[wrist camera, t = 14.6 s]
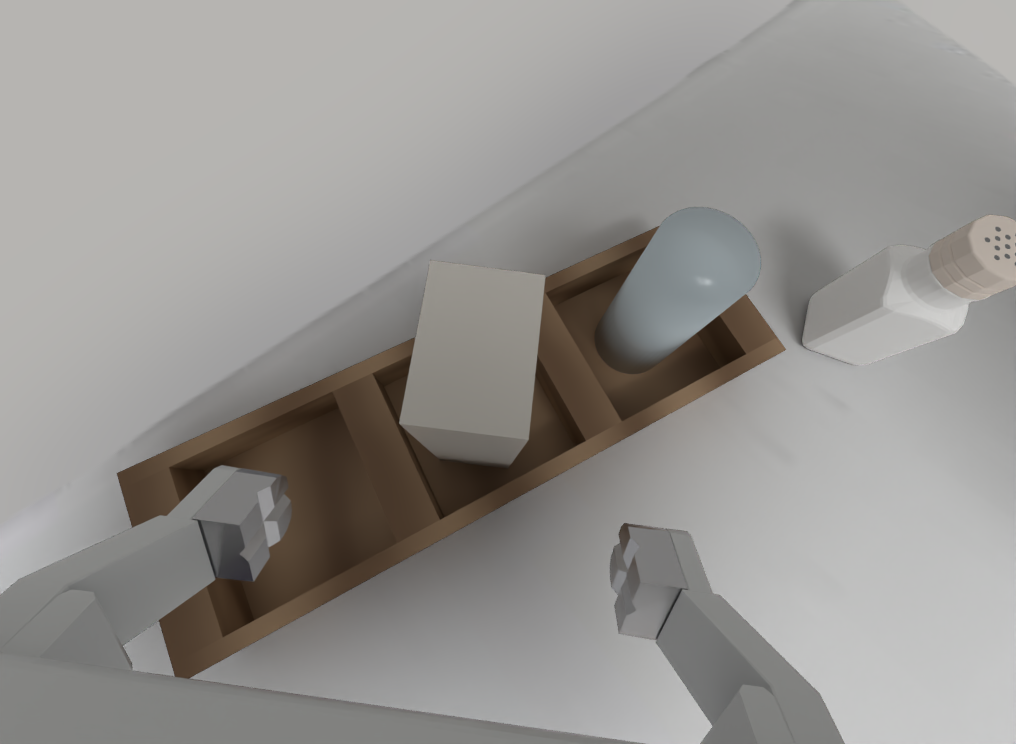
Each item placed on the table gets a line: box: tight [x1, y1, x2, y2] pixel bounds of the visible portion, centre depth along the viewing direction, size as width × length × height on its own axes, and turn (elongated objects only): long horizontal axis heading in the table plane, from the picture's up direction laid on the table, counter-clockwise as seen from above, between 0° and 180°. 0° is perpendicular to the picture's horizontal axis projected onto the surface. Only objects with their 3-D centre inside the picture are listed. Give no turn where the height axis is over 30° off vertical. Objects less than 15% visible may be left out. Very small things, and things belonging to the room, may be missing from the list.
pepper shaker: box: [802, 215, 1016, 365], centre depth 23 cm, size 4×4×10 cm
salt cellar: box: [594, 207, 761, 374], centre depth 20 cm, size 4×4×9 cm
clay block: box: [399, 260, 546, 469], centre depth 18 cm, size 4×5×11 cm
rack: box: [117, 226, 786, 679], centre depth 22 cm, size 30×9×4 cm, turn 118°
